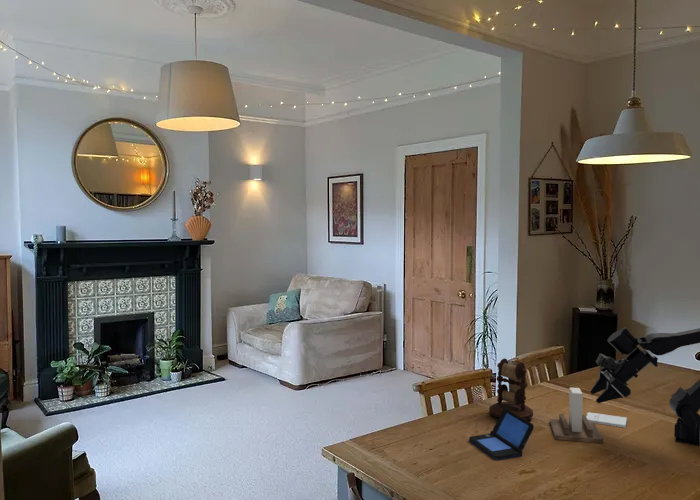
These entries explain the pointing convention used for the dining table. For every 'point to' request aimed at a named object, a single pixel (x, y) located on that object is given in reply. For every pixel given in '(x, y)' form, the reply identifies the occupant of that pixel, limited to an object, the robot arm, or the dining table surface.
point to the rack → (565, 433)
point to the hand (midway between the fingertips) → (593, 397)
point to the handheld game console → (505, 437)
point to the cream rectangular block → (575, 409)
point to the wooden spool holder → (511, 391)
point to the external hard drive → (607, 419)
